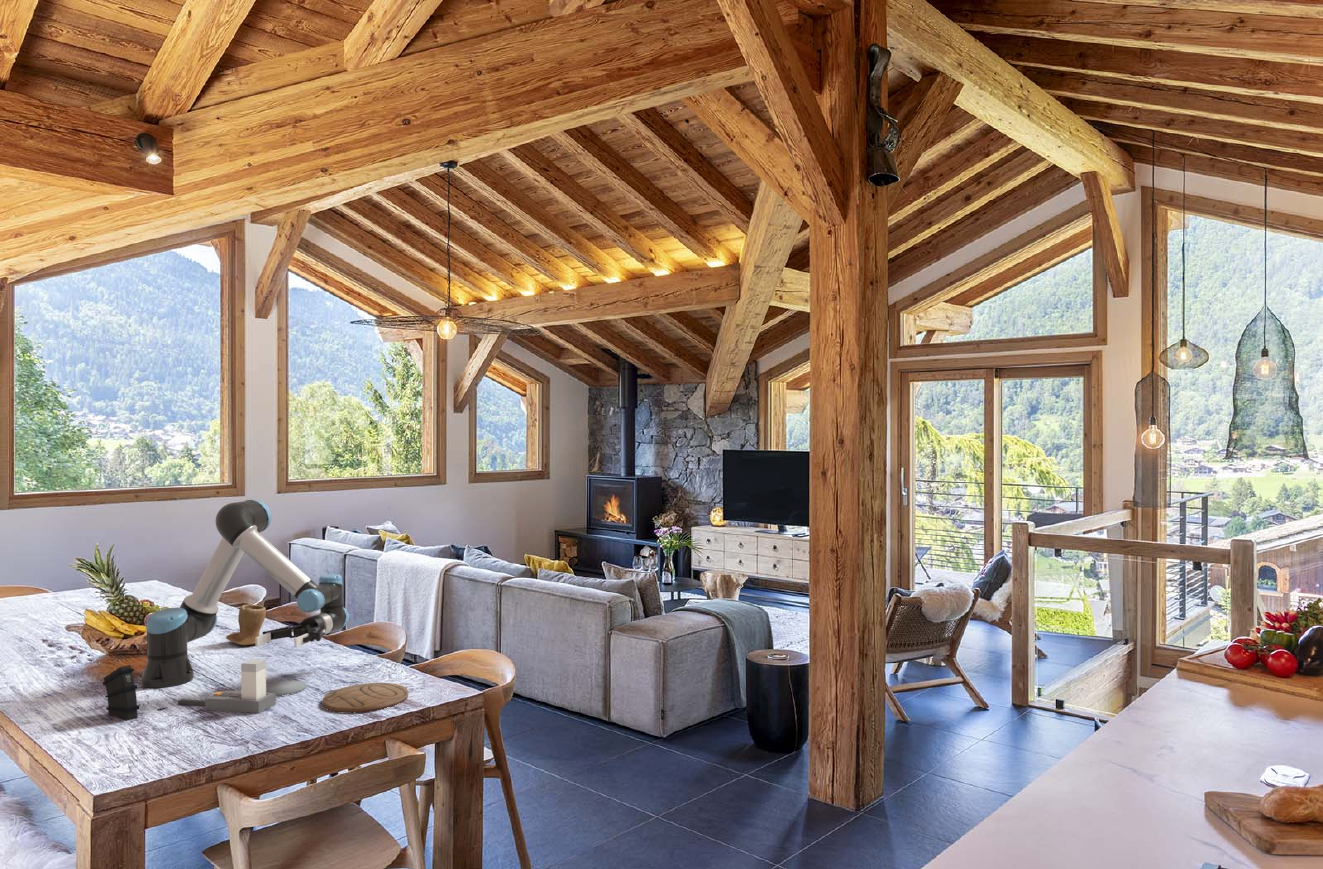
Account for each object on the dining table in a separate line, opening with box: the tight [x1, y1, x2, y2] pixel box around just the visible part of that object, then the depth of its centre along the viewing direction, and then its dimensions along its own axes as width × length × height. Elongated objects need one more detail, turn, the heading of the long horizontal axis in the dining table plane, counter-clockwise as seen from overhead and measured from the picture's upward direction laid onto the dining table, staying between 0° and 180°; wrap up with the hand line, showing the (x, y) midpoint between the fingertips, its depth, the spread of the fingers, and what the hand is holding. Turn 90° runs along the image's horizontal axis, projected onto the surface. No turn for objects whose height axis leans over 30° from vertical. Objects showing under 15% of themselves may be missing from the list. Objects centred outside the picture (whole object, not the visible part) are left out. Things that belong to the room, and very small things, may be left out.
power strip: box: [178, 689, 277, 714], centre depth 259 cm, size 30×8×4 cm, turn 79°
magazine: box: [102, 664, 140, 721], centre depth 251 cm, size 4×13×15 cm, turn 58°
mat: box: [266, 680, 307, 697], centre depth 274 cm, size 14×14×1 cm
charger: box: [240, 658, 267, 700], centre depth 257 cm, size 5×4×12 cm
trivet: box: [322, 682, 409, 714], centre depth 264 cm, size 25×25×2 cm
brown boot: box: [225, 604, 267, 646], centre depth 337 cm, size 15×12×15 cm
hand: (275, 642), depth 266 cm, fingers open, 13 cm apart
